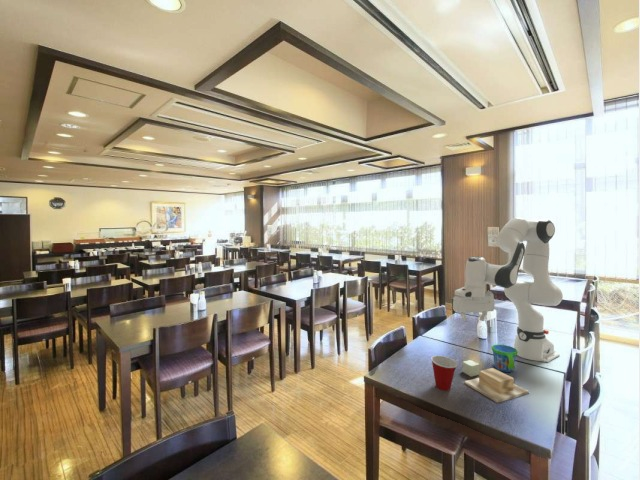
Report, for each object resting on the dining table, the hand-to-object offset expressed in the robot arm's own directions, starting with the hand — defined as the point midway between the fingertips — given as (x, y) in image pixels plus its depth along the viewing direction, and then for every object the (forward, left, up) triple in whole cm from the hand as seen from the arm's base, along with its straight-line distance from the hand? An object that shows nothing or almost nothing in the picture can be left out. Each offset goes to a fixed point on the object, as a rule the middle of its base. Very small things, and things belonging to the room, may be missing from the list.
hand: (473, 321), depth 147 cm
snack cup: (-16, +4, -25) cm, 30 cm away
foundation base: (+3, +15, -25) cm, 29 cm away
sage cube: (+2, +1, -25) cm, 25 cm away
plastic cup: (+23, +6, -25) cm, 34 cm away
